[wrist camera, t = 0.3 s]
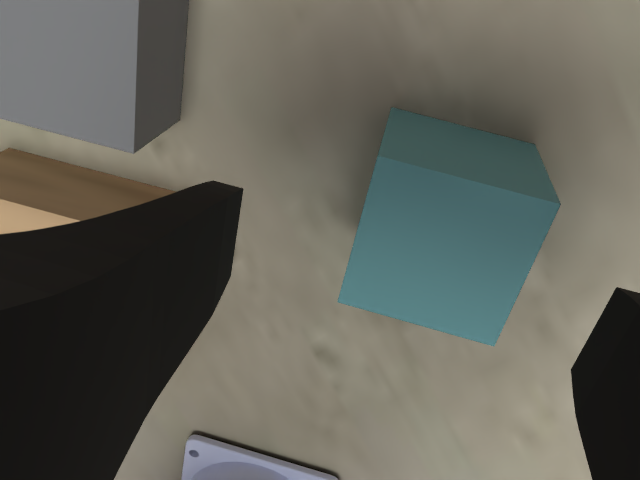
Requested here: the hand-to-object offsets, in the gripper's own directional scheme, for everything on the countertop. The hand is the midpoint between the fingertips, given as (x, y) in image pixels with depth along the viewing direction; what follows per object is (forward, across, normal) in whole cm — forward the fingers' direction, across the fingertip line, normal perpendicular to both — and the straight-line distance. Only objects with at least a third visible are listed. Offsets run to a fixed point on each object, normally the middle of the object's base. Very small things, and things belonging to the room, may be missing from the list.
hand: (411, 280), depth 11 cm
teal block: (+10, -1, +2) cm, 11 cm away
